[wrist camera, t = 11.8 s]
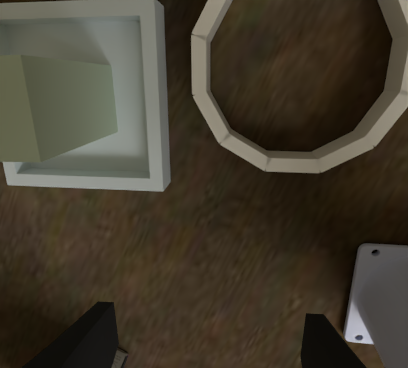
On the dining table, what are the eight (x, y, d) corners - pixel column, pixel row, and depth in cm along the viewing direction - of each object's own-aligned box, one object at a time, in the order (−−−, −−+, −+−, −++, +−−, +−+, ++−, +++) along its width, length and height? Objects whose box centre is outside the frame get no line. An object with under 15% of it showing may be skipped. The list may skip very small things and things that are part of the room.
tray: (163, 6, 18) (154, -3, 16) (170, 181, 21) (163, 191, 19) (-4, 11, 19) (-32, 4, 17) (27, 176, 22) (7, 185, 20)
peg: (111, 65, 19) (20, 54, 11) (118, 131, 20) (40, 162, 12) (50, 67, 19) (-78, 57, 12) (60, 131, 20) (-48, 161, 13)
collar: (426, -60, 15) (452, -80, 13) (384, 166, 19) (399, 175, 17) (196, -47, 17) (189, -64, 15) (197, 161, 20) (192, 169, 18)
